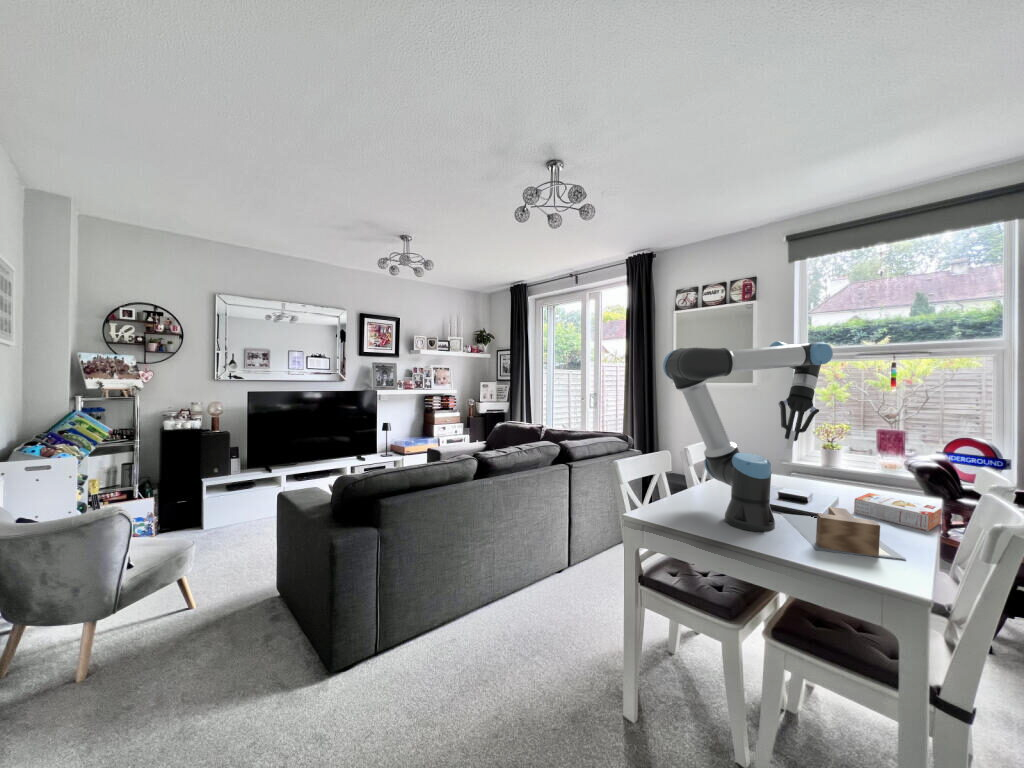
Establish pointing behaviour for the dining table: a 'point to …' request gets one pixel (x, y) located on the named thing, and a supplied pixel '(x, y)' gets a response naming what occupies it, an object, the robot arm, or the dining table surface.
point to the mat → (808, 530)
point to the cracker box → (898, 511)
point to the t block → (847, 532)
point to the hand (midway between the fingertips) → (788, 448)
